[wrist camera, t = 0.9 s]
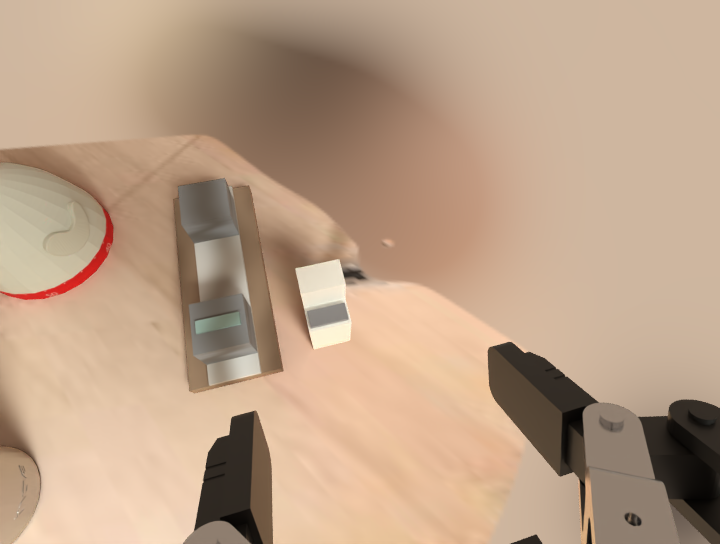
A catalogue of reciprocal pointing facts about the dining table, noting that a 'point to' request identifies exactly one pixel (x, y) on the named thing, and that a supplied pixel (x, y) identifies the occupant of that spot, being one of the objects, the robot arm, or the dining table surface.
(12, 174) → the kitchen timer
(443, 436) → the dining table surface
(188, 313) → the rail plate
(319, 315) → the block
